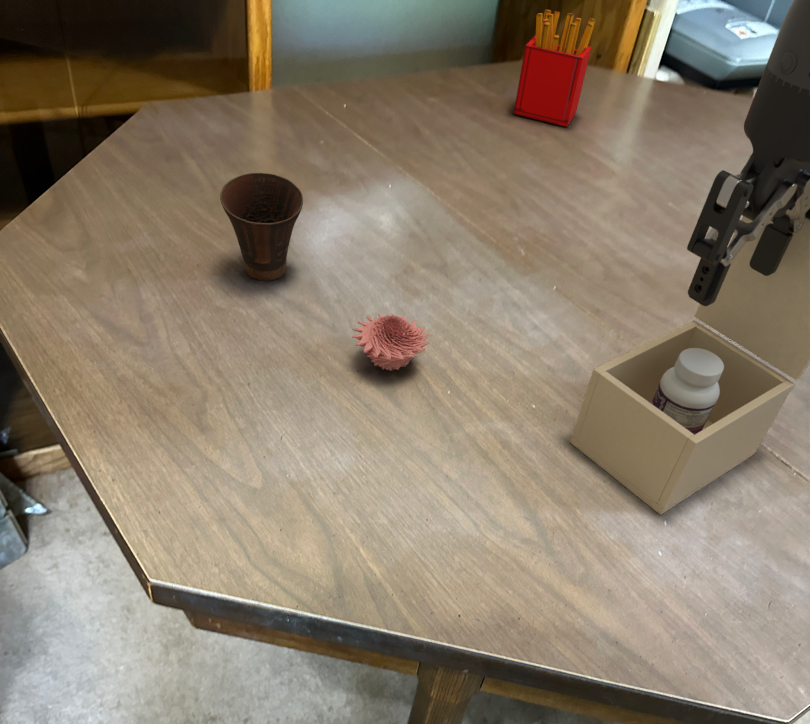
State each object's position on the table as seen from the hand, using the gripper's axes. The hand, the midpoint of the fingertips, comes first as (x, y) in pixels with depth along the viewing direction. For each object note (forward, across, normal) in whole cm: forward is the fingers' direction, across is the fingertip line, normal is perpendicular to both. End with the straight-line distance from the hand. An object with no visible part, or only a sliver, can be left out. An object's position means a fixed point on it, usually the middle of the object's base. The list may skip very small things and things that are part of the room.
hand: (731, 285), depth 64 cm
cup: (+17, -18, +45) cm, 52 cm away
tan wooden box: (+17, -2, -1) cm, 17 cm away
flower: (+17, -16, +24) cm, 34 cm away
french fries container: (+18, +47, +64) cm, 81 cm away
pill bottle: (+16, -2, -1) cm, 16 cm away
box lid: (0, +6, -1) cm, 7 cm away
